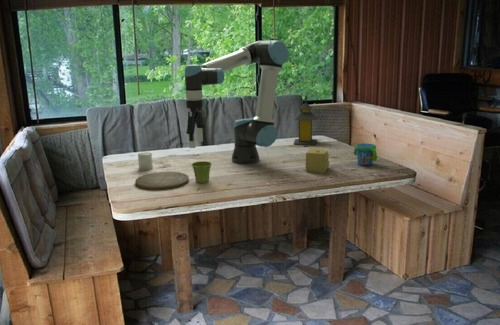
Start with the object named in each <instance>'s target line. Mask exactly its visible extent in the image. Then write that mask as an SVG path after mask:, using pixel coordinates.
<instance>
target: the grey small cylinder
mask: <svg viewBox="0 0 500 325" xmlns="http://www.w3.org/2000/svg"><path fill="white" fill-rule="evenodd" d="M152 154H153V153H152V152H150V151H149V152H148V151H147V152H146V151H145V152H140V153H139V152H138V153H137V159H138V160H137V162H138V170H139V171H146V172H147V171H150V170H153V168H154V167H153V156H152Z"/></svg>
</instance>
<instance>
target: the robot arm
mask: <svg viewBox="0 0 500 325" xmlns="http://www.w3.org/2000/svg"><path fill="white" fill-rule="evenodd" d="M288 58H289V49H288V47H287V46H286V43H285V42H283V41H281V40H278V39H277V40H276V39H270V40H269V39H268V40H264V39H263V40H260V39H259V40H257V41H254V42H251V43H248V44H246V45H244V46H241V47H240V48H239V50H237V51H234V52H231V53H229V54H226V55H223V56H221V57H218V58H216V59H213V60H210V61H208V62H205V63H203V64H187V65H185V66H184V82H185V91H184V95H185V98H186V100H185V106H186V109H190V111H188V112H187V126H186V127H187V128H186V135H188V148H189V149H195V148H196V142H197V143H198V142H200V143H202V142H204V135H203V133H204V131H203V129H204V128H205V125H204V119H203V114H202V109H203V107H204V101H203V86H213V85H217V86H218V85H222V84H223V82H224V81H225V73H226V72H228V71H232V70H234V69H235V68H240V67H241V66H243V65H245V66H249V65H251V64H258V66H259V68H260V69H261V74H260V79H259V80H260V81H259V88H258V96H257V102H256V103H257V104H256V111H255V116H254V117H253V118H249V117H248V118H239V119H235V121H234V122H233V135H234V136H233V139H234V147H233V148H234V149H233V151H232V155H231V162H232V163H234V164H243V165H246V164H247V165H248V164H254V163H255V164H256V163H257V162H259V161H260V155H259V151H258V149H257V146H259V147H264V148H267V147H270V146H272V145H273V144H274V143H275V142H276V140H277V138H278V130H277V128H276V126H275V121H274V119H273V113H274V106H275V99H276V91H277V83H278V76H279V72H280V71H281V70H282V69H283V64H285V63H286V62H287V61H288ZM195 130H196V135H195Z"/></svg>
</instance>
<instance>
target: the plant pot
mask: <svg viewBox="0 0 500 325" xmlns="http://www.w3.org/2000/svg"><path fill="white" fill-rule="evenodd" d="M191 166H192V169H193V172H194V173H193V174H194V177H195V178H194V180H195V182H196V183H198V184H199V183H201V184H206V183H208V182H210V171H211V167H212V162H211V161H206V160H205V161H202V160H200V161H195V162H192V163H191Z"/></svg>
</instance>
